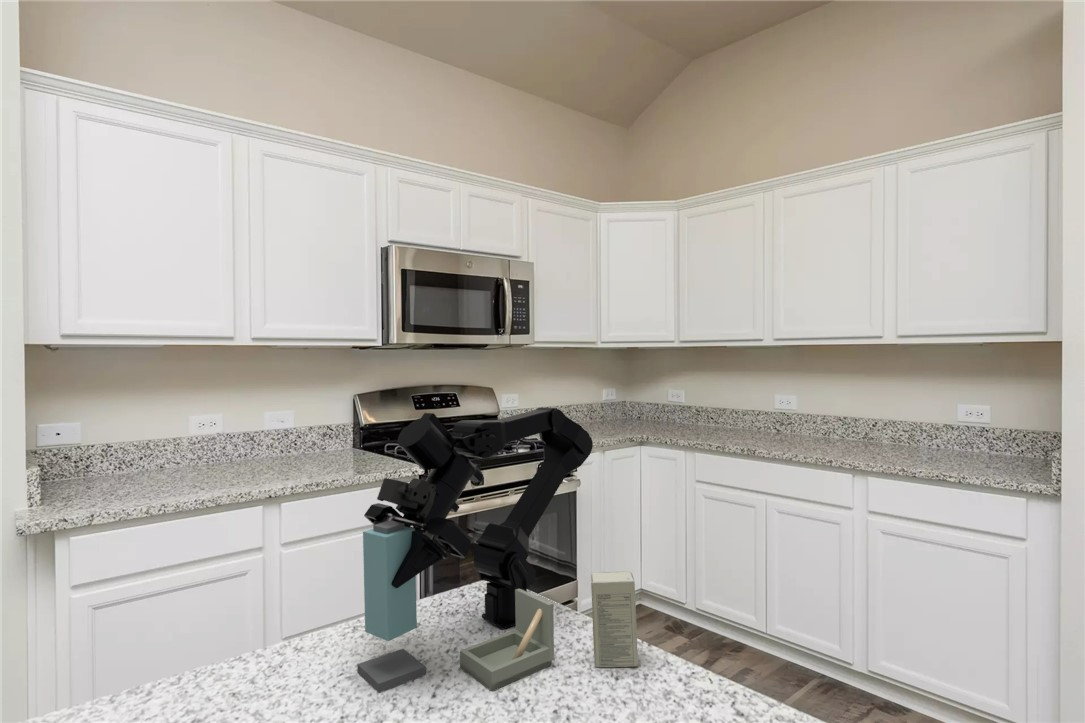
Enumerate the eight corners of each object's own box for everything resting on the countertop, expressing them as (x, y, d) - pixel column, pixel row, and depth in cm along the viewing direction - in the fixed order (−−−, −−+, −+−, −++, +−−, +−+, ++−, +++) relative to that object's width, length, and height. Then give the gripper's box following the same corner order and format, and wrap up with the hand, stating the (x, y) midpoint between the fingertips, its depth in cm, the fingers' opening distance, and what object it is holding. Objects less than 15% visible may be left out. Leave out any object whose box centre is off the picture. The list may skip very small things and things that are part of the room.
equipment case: (520, 644, 91) (519, 588, 92) (554, 663, 85) (553, 603, 85) (459, 668, 85) (459, 607, 85) (492, 691, 78) (491, 625, 79)
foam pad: (403, 656, 88) (403, 648, 88) (426, 674, 83) (426, 666, 83) (357, 672, 84) (357, 664, 84) (378, 693, 78) (378, 683, 78)
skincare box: (634, 653, 88) (633, 570, 88) (638, 668, 84) (637, 580, 84) (591, 653, 88) (590, 570, 89) (593, 668, 84) (591, 581, 84)
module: (393, 618, 87) (391, 517, 87) (416, 627, 84) (414, 522, 84) (365, 631, 83) (362, 525, 83) (388, 641, 80) (385, 531, 80)
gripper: (374, 451, 93) (308, 538, 84) (453, 461, 81) (386, 565, 72) (416, 492, 99) (358, 578, 90) (496, 508, 87) (438, 609, 78)
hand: (382, 582), depth 82 cm, fingers closed on module, 5 cm apart
